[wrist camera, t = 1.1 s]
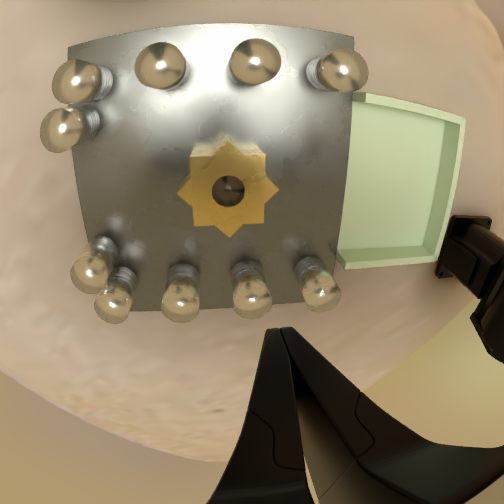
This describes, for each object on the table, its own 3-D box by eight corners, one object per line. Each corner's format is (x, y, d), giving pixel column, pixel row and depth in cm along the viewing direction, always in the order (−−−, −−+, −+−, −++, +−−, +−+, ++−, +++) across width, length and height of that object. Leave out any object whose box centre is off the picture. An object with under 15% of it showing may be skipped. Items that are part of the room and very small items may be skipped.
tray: (445, 113, 18) (465, 118, 16) (421, 247, 23) (436, 261, 21) (349, 92, 17) (366, 93, 15) (333, 253, 22) (344, 269, 20)
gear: (272, 134, 17) (281, 139, 15) (270, 220, 20) (277, 236, 18) (178, 137, 16) (173, 143, 14) (184, 223, 19) (180, 240, 17)
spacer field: (349, 38, 15) (381, 27, 11) (325, 295, 24) (342, 327, 21) (69, 49, 13) (38, 41, 9) (108, 306, 22) (95, 341, 19)
